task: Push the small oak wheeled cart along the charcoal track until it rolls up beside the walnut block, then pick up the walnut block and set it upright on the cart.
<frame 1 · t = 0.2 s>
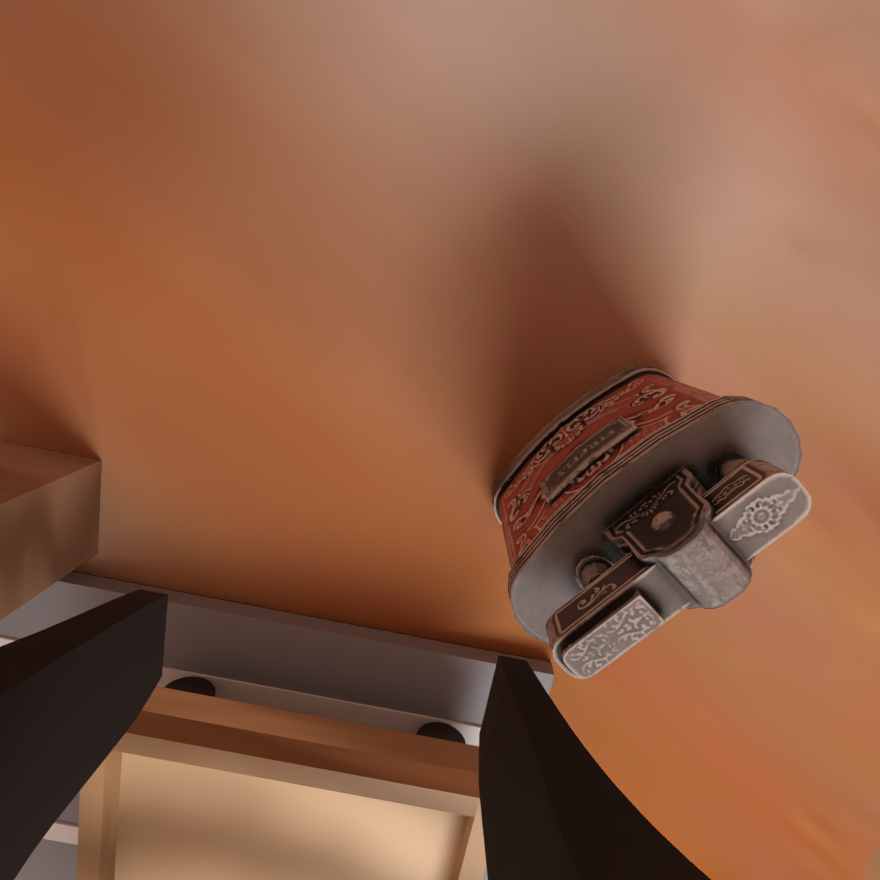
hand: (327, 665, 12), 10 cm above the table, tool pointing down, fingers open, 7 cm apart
block: (50, 497, 22), on the table
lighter: (580, 450, 21), on the table
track: (178, 753, 24), on the table
cart: (290, 844, 21), point 3 cm above the table, slide at 0.0 cm
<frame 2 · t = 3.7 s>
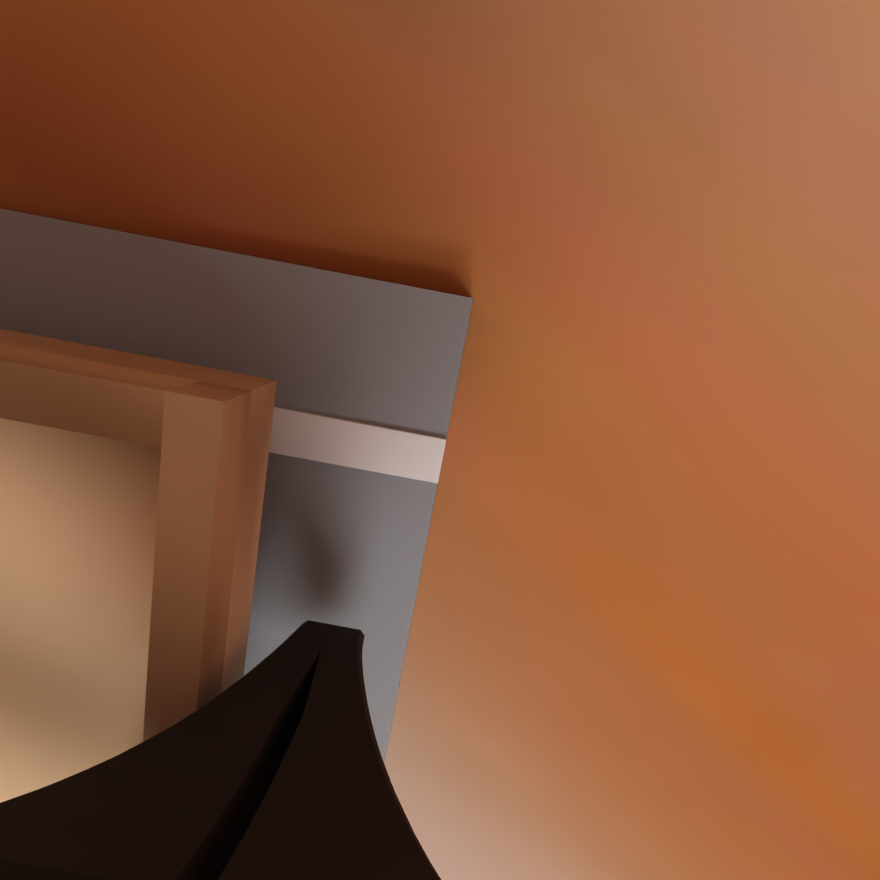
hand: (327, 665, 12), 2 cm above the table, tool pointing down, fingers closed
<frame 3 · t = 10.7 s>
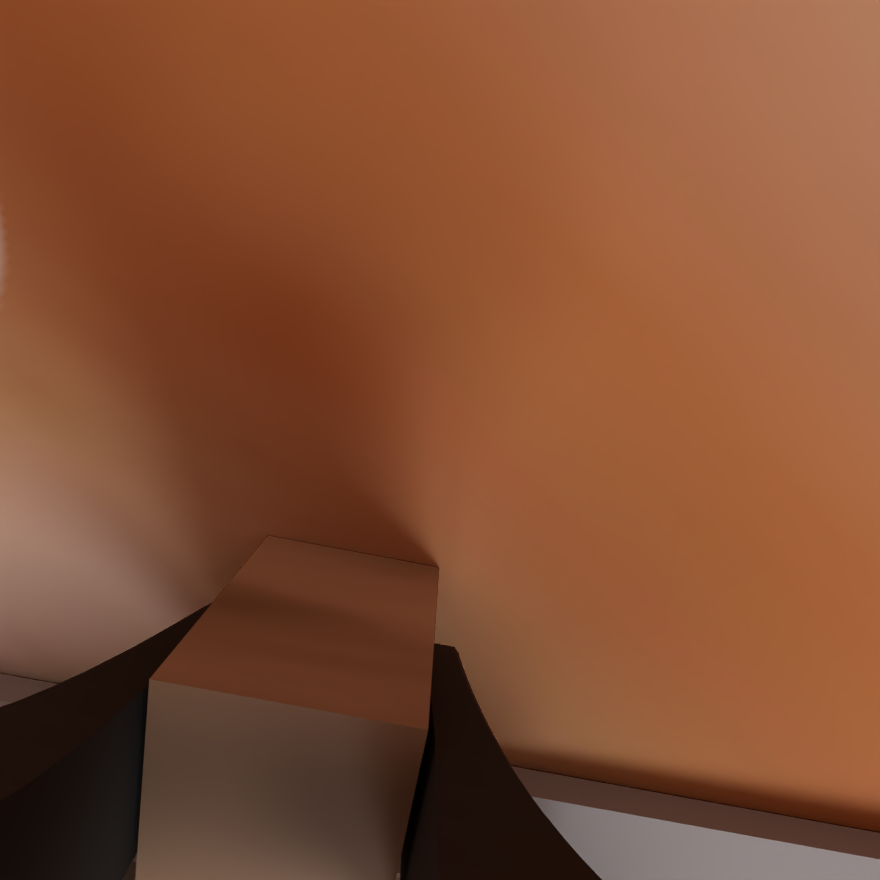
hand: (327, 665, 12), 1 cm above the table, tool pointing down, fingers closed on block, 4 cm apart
block: (341, 627, 13), on the table, touching gripper
when the fingers open (7 cm above the table, at t = 14.8 s): block stays where it is, resting on cart.
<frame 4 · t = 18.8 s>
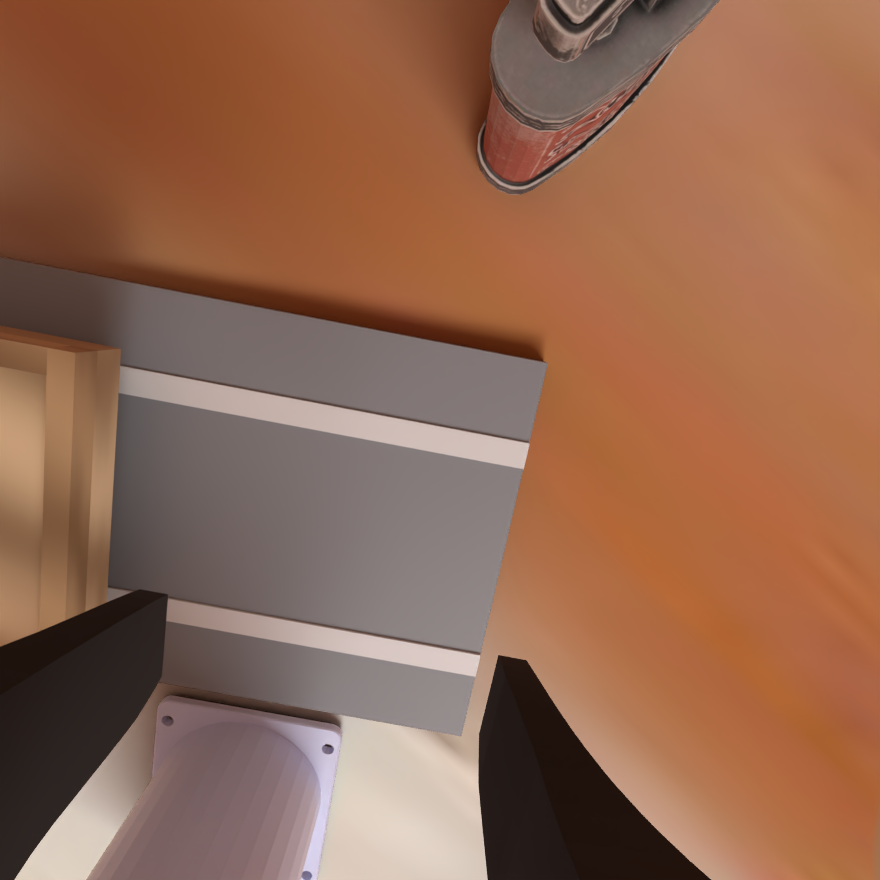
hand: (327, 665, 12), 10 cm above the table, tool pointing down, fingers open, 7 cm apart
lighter: (574, 94, 19), on the table
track: (132, 488, 22), on the table
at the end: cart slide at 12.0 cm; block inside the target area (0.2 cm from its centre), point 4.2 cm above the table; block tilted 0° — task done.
